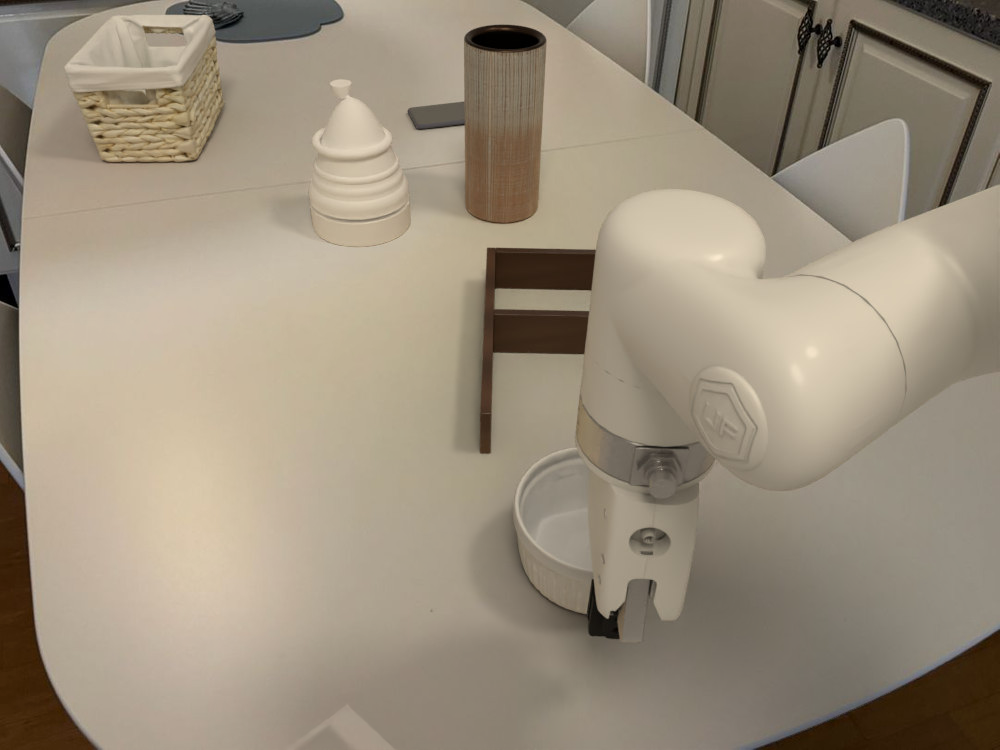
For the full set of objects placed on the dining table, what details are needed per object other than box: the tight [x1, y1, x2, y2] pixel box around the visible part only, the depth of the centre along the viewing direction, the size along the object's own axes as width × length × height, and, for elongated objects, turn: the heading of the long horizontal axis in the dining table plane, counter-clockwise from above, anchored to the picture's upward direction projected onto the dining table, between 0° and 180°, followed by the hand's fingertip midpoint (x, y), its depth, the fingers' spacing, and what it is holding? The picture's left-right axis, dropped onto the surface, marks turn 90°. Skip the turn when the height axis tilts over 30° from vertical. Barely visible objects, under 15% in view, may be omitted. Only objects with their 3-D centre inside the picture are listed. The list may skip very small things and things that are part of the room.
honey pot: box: [308, 78, 411, 248], centre depth 108 cm, size 13×13×18 cm
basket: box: [63, 14, 226, 163], centre depth 129 cm, size 24×16×15 cm
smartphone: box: [407, 101, 465, 130], centre depth 141 cm, size 8×1×15 cm
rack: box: [479, 247, 596, 454], centre depth 89 cm, size 29×19×5 cm, turn 179°
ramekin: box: [512, 446, 594, 615], centre depth 68 cm, size 13×13×7 cm
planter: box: [463, 24, 548, 224], centre depth 110 cm, size 10×10×23 cm
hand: (611, 626), depth 57 cm, fingers closed
